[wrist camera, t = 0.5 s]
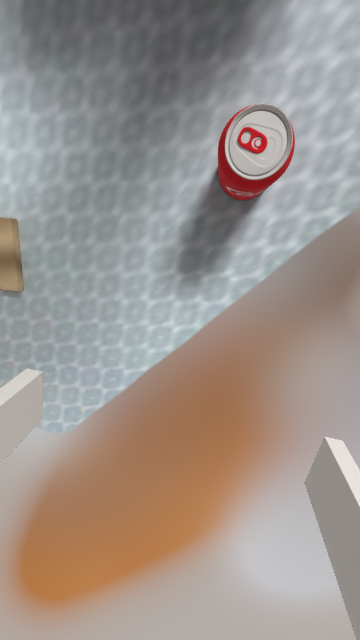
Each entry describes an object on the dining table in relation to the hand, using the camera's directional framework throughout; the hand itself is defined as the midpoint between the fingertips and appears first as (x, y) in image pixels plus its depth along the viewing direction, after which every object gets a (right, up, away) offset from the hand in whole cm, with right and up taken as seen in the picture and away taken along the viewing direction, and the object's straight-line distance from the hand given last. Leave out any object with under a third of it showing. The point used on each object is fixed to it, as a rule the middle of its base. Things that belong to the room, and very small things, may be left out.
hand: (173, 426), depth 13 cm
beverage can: (+8, +23, +20) cm, 31 cm away
